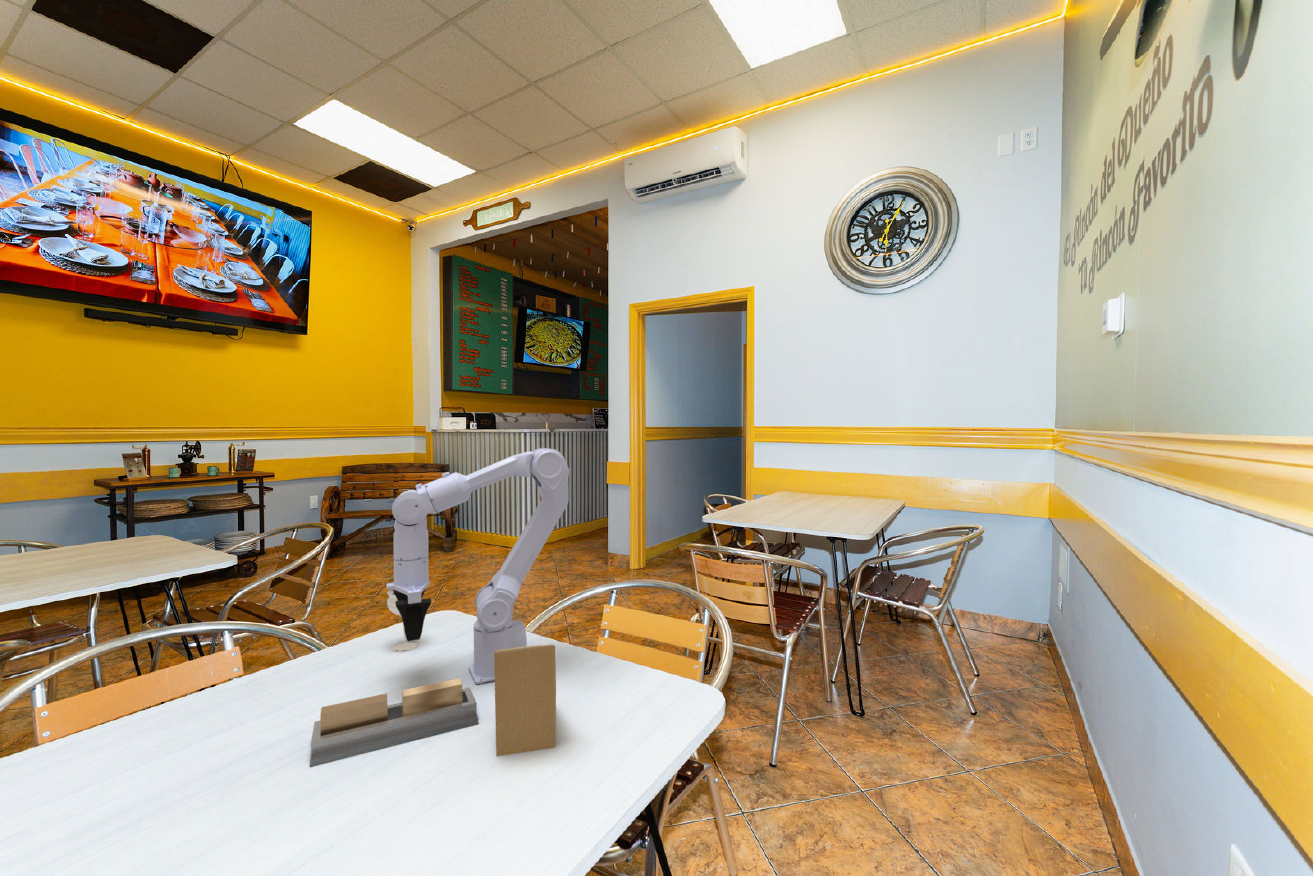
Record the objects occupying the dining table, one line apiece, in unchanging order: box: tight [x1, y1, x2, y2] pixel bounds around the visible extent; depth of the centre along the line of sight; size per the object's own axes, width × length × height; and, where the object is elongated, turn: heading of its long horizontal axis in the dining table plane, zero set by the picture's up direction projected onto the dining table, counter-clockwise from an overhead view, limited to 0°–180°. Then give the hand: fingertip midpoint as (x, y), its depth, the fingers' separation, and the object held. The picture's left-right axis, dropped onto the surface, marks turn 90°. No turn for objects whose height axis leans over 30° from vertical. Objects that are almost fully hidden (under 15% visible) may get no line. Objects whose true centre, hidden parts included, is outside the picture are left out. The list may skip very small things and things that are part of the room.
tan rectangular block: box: [401, 677, 463, 717], centre depth 84 cm, size 8×2×4 cm, turn 119°
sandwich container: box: [494, 643, 557, 757], centre depth 83 cm, size 9×15×15 cm, turn 14°
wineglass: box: [386, 589, 419, 652], centre depth 114 cm, size 7×7×12 cm
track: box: [309, 687, 479, 767], centre depth 82 cm, size 22×9×5 cm, turn 119°
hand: (411, 632), depth 96 cm, fingers open, 7 cm apart
